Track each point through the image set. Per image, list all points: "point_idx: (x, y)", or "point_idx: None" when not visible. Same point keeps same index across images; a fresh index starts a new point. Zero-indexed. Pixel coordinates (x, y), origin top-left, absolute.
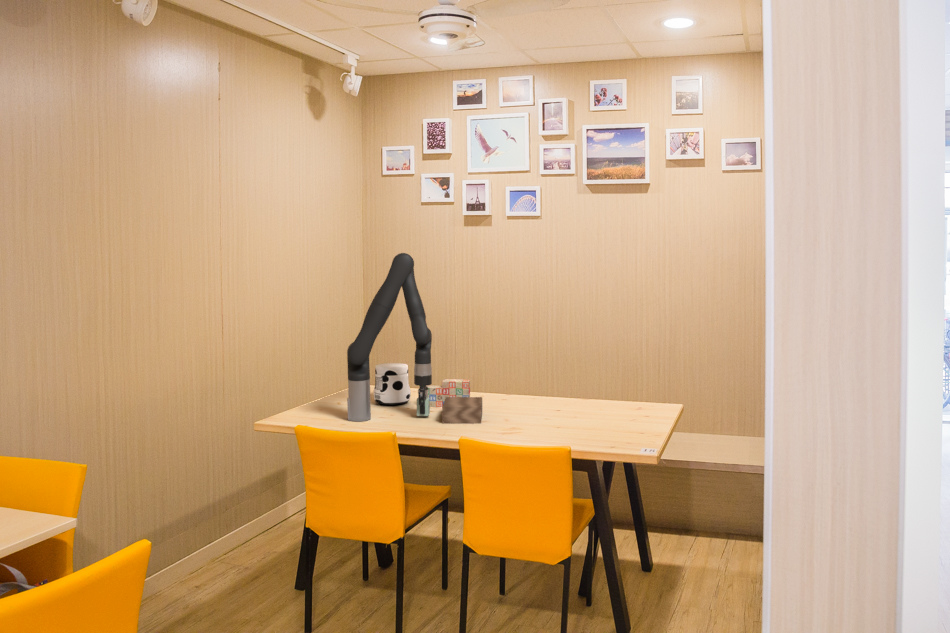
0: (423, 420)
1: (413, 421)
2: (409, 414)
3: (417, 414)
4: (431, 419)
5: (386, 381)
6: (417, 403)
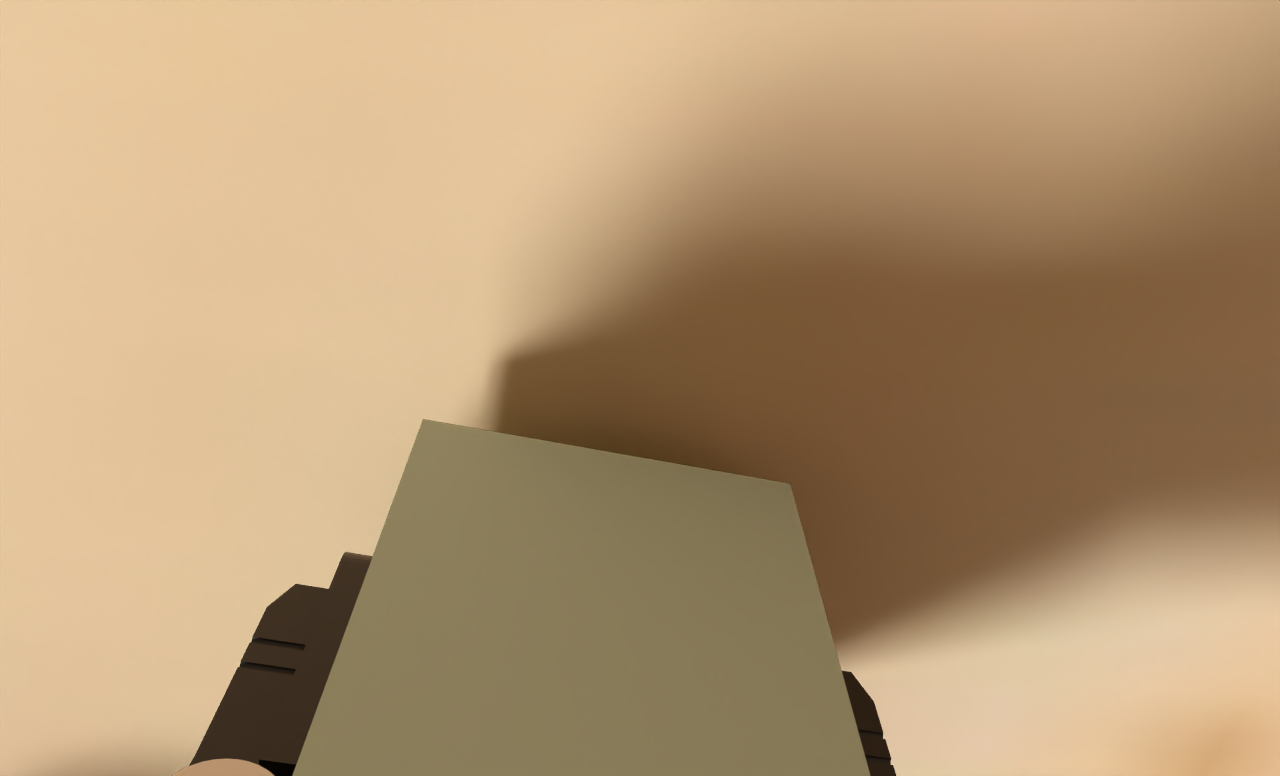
0: (166, 528)
1: (27, 256)
2: (1069, 209)
3: (414, 463)
4: None
5: None
6: (303, 756)
